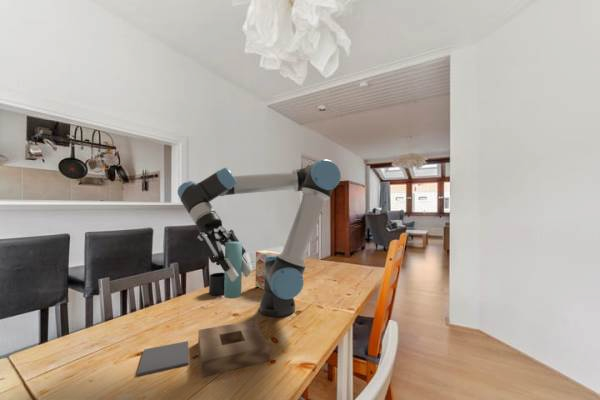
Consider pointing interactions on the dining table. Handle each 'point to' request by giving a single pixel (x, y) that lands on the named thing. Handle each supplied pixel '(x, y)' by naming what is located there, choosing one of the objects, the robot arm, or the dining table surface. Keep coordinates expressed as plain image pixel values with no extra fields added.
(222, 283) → the mug
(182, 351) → the mat
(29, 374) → the dining table surface
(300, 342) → the dining table surface
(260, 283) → the coffeecake box
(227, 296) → the peg
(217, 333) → the pocket block
